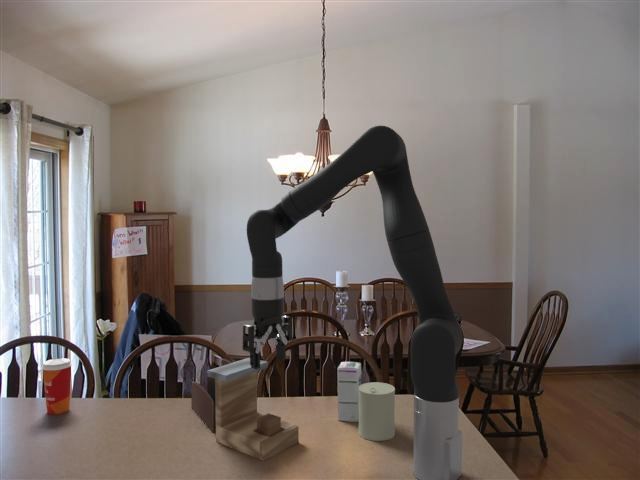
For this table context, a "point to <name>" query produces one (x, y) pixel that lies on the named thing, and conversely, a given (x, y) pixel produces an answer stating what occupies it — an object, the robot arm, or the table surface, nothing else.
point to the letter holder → (206, 400)
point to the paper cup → (57, 385)
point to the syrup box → (348, 391)
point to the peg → (268, 425)
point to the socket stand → (245, 412)
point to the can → (376, 411)
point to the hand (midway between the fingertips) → (268, 364)
